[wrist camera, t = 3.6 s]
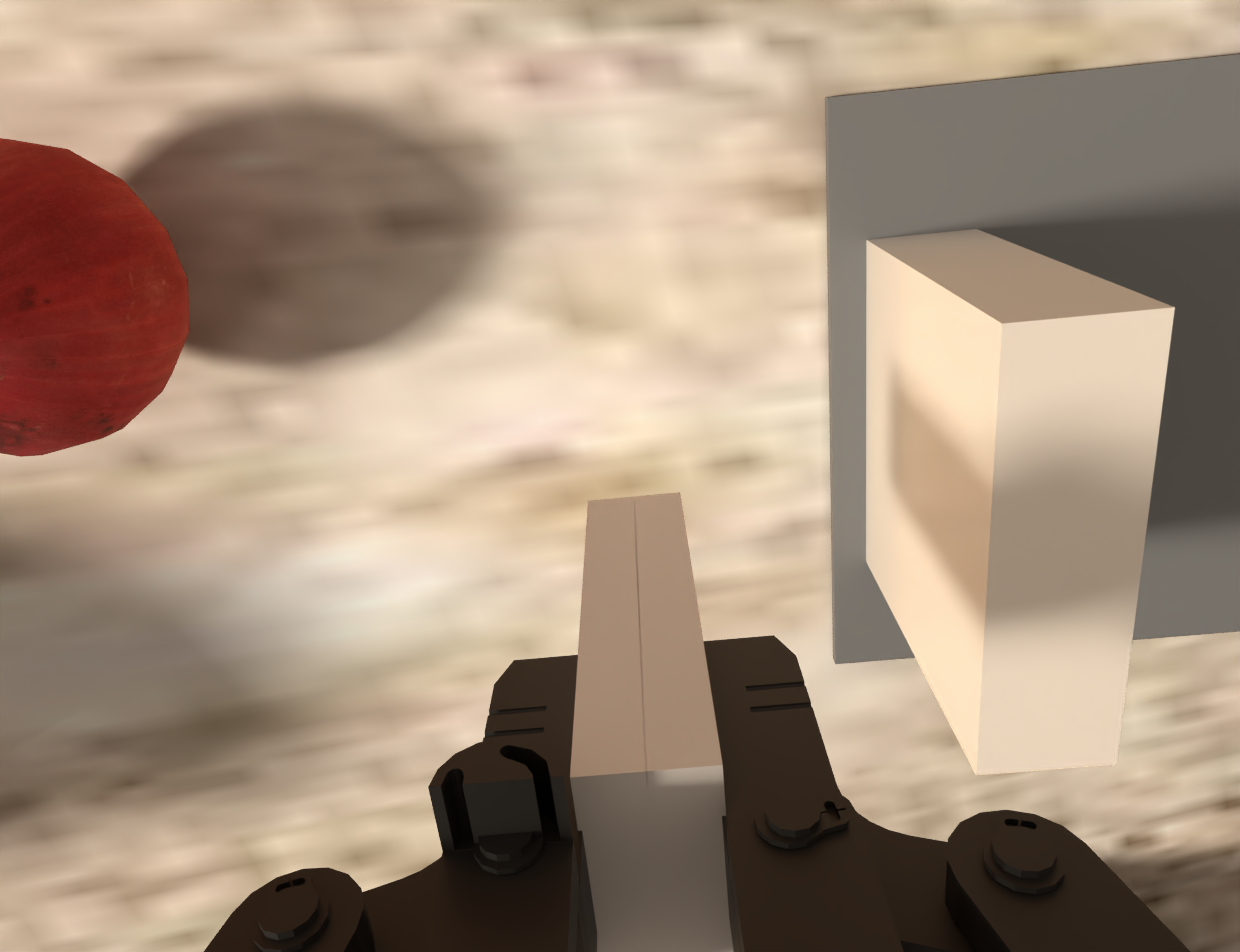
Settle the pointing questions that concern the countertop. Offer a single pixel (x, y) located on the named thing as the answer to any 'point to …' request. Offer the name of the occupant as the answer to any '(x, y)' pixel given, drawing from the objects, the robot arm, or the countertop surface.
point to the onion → (80, 301)
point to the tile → (1011, 486)
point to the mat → (1082, 238)
